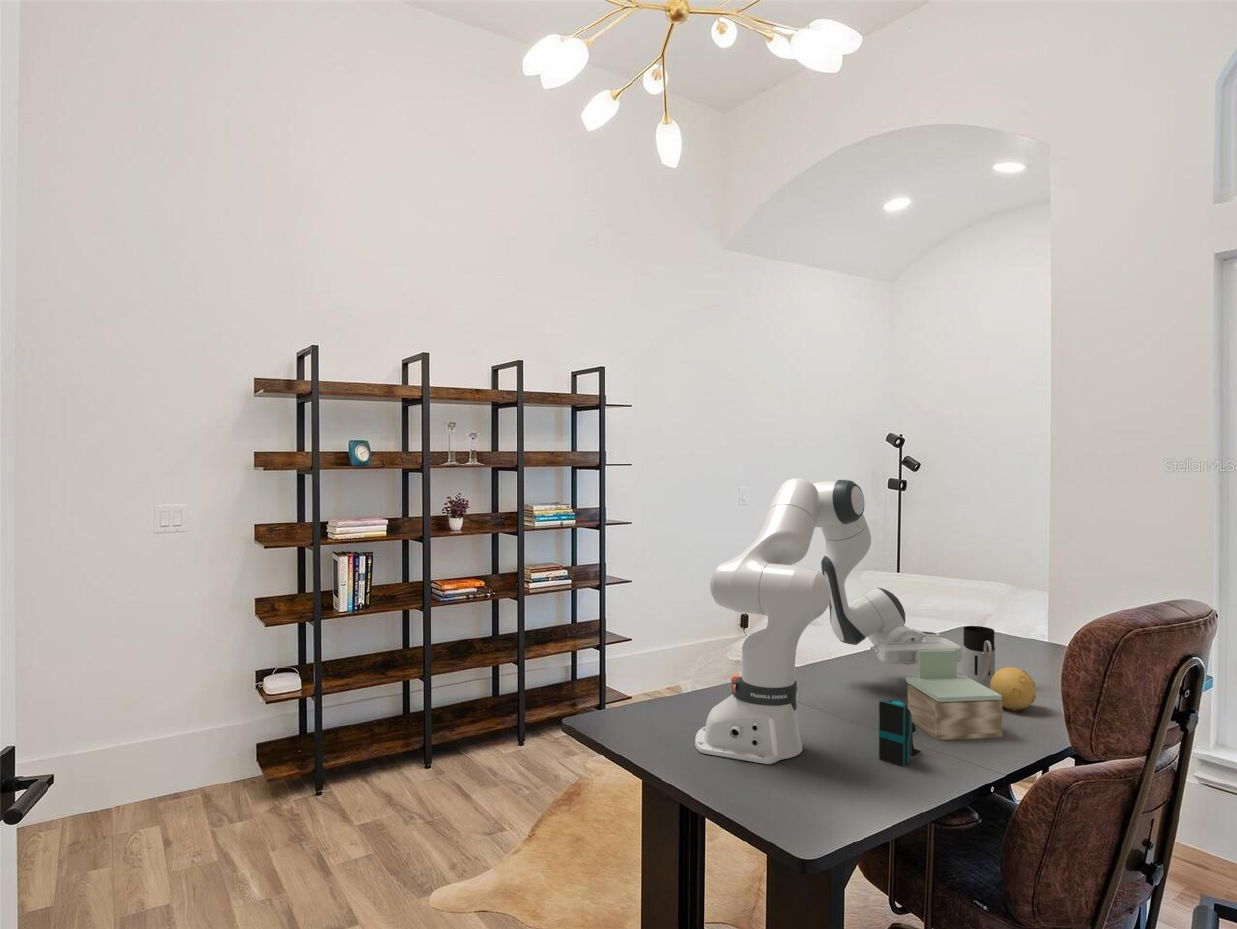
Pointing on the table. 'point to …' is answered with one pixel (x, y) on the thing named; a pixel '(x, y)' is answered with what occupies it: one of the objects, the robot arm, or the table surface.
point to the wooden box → (955, 717)
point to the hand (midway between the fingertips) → (935, 661)
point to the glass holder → (979, 654)
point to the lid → (947, 679)
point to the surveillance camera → (896, 732)
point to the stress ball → (1014, 688)
